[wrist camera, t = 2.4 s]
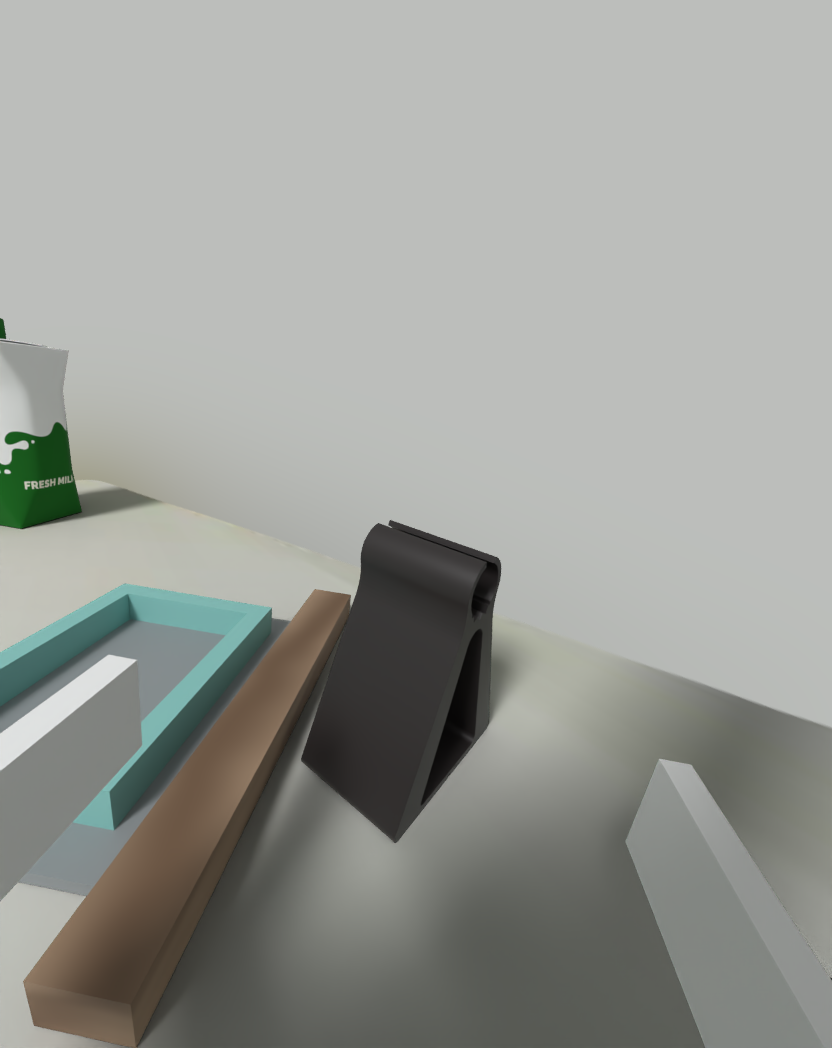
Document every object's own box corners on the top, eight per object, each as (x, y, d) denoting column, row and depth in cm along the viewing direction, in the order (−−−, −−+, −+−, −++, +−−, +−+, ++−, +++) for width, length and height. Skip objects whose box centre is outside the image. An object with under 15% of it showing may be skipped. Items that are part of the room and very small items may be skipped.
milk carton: (29, 499, 50) (1, 320, 45) (97, 511, 50) (78, 330, 44) (-60, 519, 42) (-108, 301, 36) (20, 533, 41) (-15, 313, 35)
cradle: (294, 628, 32) (295, 598, 31) (103, 899, 15) (96, 846, 14) (132, 601, 32) (129, 571, 32) (-235, 830, 15) (-260, 775, 14)
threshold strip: (348, 616, 34) (350, 594, 34) (135, 1048, 12) (130, 1004, 11) (313, 610, 35) (314, 589, 34) (34, 1025, 12) (23, 981, 11)
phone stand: (408, 680, 28) (433, 508, 24) (488, 728, 25) (530, 538, 21) (300, 764, 21) (313, 539, 17) (392, 847, 18) (433, 591, 14)
